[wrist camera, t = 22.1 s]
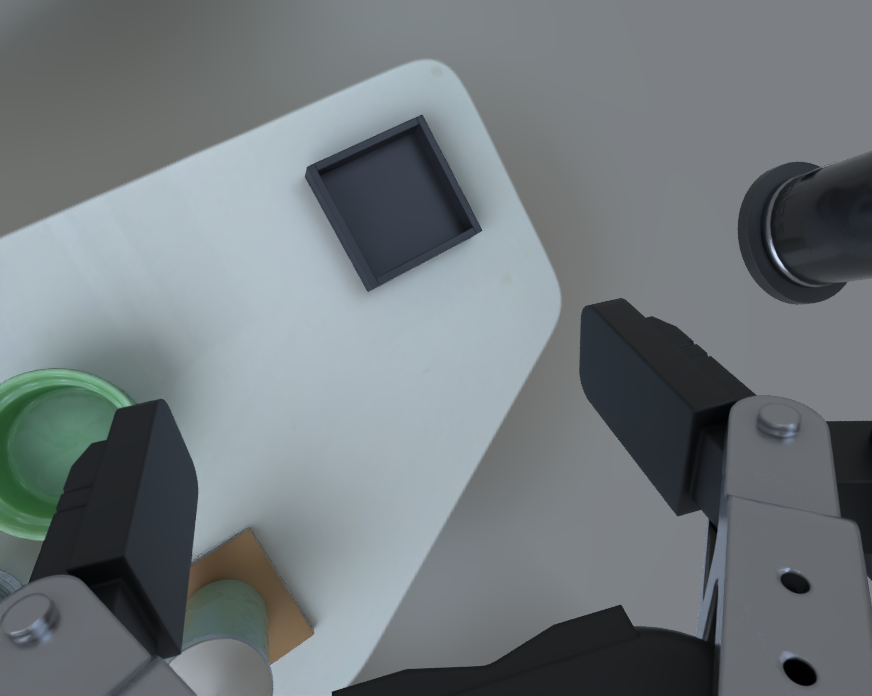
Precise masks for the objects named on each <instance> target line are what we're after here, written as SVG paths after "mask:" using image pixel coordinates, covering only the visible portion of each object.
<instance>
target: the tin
mask: <svg viewBox="0 0 872 696" xmlns="http://www.w3.org/2000/svg"><path fill="white" fill-rule="evenodd" d="M165 662H166V663H167V664H168V665H169V666H170V667H171V668H172V669H173V670H174V671H175V672H176V673H177V674H178V675H179V676H180V677H181V678H182V679H183V681H184V682H185V683H186V684H187V685H188V686H189V687H190V688H191V689H192V690H193V691H194V692H195V693H196V694H197V695H198V696H272V695H273V677H272V671H271V667H270V655H269V631H268V612H267V607H266V604H265V601H264V599H263V598H262V596H261V595H260V593H259V592H258V591H257V590H256V589H255V588H253V587H252V586H250V585H249V584H247V583H245V582H242V581H238V580H231V579H225V580H218V581H215V582H212V583H209V584H207V585H205V586H203V587H202V588H200V589H199V590H197V591H196V592H195V593H194V594H193V595H192V596H191V597H190V598H189V599H188V601H187V604H186V613H185V622H184V632H183V641H182V650H181V655H178V656H174V657H170V658H167V659H166V661H165Z"/></svg>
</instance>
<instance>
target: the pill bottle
mask: <svg viewBox="0 0 872 696" xmlns="http://www.w3.org/2000/svg"><path fill="white" fill-rule="evenodd" d="M21 587H22V586H21V584H20V583H19V582H18V581H17V580H16V579H15V578H14V577H13V576H11V575H10V574H8V573H6V572H3V571H0V602H1V601H2V600H3V599H4V598H6V597H7V596H8V595H10V594H11V593H13V592H14V591H16V590H17V589H19V588H21Z"/></svg>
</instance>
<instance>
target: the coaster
mask: <svg viewBox="0 0 872 696" xmlns="http://www.w3.org/2000/svg"><path fill="white" fill-rule="evenodd" d="M225 579H231V580H238V581H242V582H245V583H247V584H249V585H250V586H252V587H253V588H255V589H256V590H257V591H258V592H259V593H260V595H261V596H262V598H263V599H264V601H265V604H266V607H267V612H268V631H269V655H270V665H271V664H272V663H274V662H275V661H277V660H278V659H279V658H281V657H282V656H284V655H285V654H287V653H288V652H290V651H291V650H292V649H294V648H295V647H297V646H298V645H300V644H301V643H302V642H304V641H305V640H307V639H308V638H310V637H311V636H312V635H314V630H313V629H312V627H311V625H310V624H309V622H308V621H307V619H306V617H305V616H304V614H303V613H302V611H301V609H300V608H299V606H298V604H297V603H296V601H295V600H294V598H293V596H292V595H291V593H290V592H289V590H288V588H287V587H286V585H285V584H284V582H283V580H282V579H281V577H280V575H279V574H278V572H277V571H276V569H275V567H274V566H273V564H272V563H271V561H270V559H269V558H268V556H267V555H266V553H265V551H264V550H263V548H262V546H261V545H260V543H259V542H258V540H257V538H256V537H255V535H254V534H253V532H252V530H251V529H250V528H247V529H246V530H244V531H243V532H241V533H239V534H238V535H236V536H235V537H233V538H232V539H230V540H228V541H227V542H225V543H224V544H222V545H220V546H219V547H217V548H216V549H214V550H213V551H211V552H209V553H208V554H206V555H205V556H203V557H201V558H200V559H198V560H197V561H195V562H193V563H192V564H191V567H190V576H189V585H188V595H187V601H188V599H189V598H190V597H191V596H192V595H193V594H194V593H195V592H196V591H197V590H199V589H200V588H202V587H203V586H205V585H207V584H209V583H212V582H215V581H218V580H225ZM163 660H164V661H166V659H163Z"/></svg>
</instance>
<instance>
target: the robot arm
mask: <svg viewBox="0 0 872 696" xmlns="http://www.w3.org/2000/svg"><path fill="white" fill-rule="evenodd" d="M828 165H829V164H828ZM825 166H826V165H825ZM820 168H822V167H820ZM818 169H819V168H818ZM815 170H816V171H814V170H813V172H812V171H810V172H811V173H810V172H808V173H806V174H801V175H798V176H795V177H793V178H790V179H787V180H785V181H783V182H782V183H780V184H779V185H778V186H777V187H776V188H775V189H774V190H773V191H772V192H771V194H770V195H769V197H768V199H767V201H766V203H765V205H764V208H763V212H762V217H761V238H762V243H763V247H764V250H765V253H766V255H767V258H768V260H769V262H770V263H771V265H772V266H773V268H774V269H775V270H776V271H777V273H778V274H779V275H780V276H781V277H783V278H784V279H785V280H786V281H788V282H790V283H791V284H794V285H796V286H799V287H803V288H815V287H822V286H827V285H830V284H833V283H843V282H849V281H855V280H863V279H869V278H872V151H869V152H867V153H864V154H861V155H858V156H855V157H853V158H850V159H847V160H844V161H841V162H839V163H836V164H833V165H830V166H827V167H824V168H822V169H819V170H817V169H815ZM580 334H581V335H580V368H579V369H580V371H579V372H580V380H581V384H582V387H583V390H584V393H585V395H586V397H587V399H588V400H589V402H590V403H591V404H592V405H593V407H594V408H595V410H596V411H597V412H598V413H599V415H600V416H601V417H602V419H603V420H604V421H605V423H606V424H607V425H608V427H609V428H610V429H611V430H612V432H613V433H614V434H615V436H616V437H617V438H618V440H619V441H620V442H621V443H622V445H623V446H624V447H625V449H626V450H627V451H628V453H629V454H630V455H631V457H632V458H633V459H634V460H635V462H636V463H637V464H638V466H639V467H640V468H641V470H642V471H643V472H644V474H645V475H646V476H647V477H648V479H649V480H650V481H651V483H652V484H653V485H654V486H655V488H656V489H657V490H658V492H659V493H660V494H661V496H662V497H663V498H664V500H665V501H666V502H667V504H668V505H669V506H670V507H671V509H672V510H673V511H674V512H675V514H676V515H677V516H681V515H684V514H687V513H691V512H695V511H698V510H702V511H703V512H704V513H705V515H706V516H707V517H708V523H707V528H706V535H705V547H704V558H703V570H702V582H701V593H700V604H699V616H698V624H697V631H696V637H694V636H692V635H688V634H685V633H682V632H678V631H674V630H668V629H663V628H656V627H645V626H633V625H632V623H631V621H630V619H629V618H628V616H627V614H626V613H625V611H624V609H623V607H622V606H621V605H618V606H615V607H611V608H608V609H605V610H601V611H598V612H595V613H592V614H588V615H585V616H581V617H578V618H575V619H571V620H568V621H565V622H562V623H558V624H555V625H553V626H551V627H550V628H548V629H546V630H545V631H543V632H541V633H540V634H538V635H537V636H535V637H533V638H532V639H530V640H529V641H527V642H525V643H524V644H522V645H521V646H519V647H517V648H516V649H515V650H513V651H511V652H510V653H508V654H507V655H505V656H503V657H502V658H500V659H498V660H497V661H495V662H493V663H491V664H489V665H485V666H474V667H450V668H424V669H406V670H402V671H399V672H396V673H393V674H389V675H386V676H382V677H379V678H376V679H373V680H369V681H366V682H363V683H359V684H356V685H353V686H349V687H346V688H343V689H339V690H336V691H333V692H332V696H872V605H871V599H870V592H869V586H868V580H867V576H868V577H869V578H870V579H871V580H872V421H825V420H824V419H823V418H822V416H821V415H819V414H818V413H817V412H816V411H814V410H813V409H811V408H810V407H808V406H806V405H804V404H802V403H800V402H797V401H794V400H791V399H788V398H784V397H778V396H770V395H759V396H757V395H756V394H754V393H753V392H752V391H751V390H750V389H749V388H747V387H746V386H745V385H744V384H743V383H742V382H740V381H739V380H738V379H737V378H736V377H734V376H733V375H732V374H731V373H729V371H727V370H726V369H725V368H724V367H723V366H722V365H720V364H719V363H718V362H717V361H716V360H715V359H714V358H712V357H711V356H709V357H708V355H707V352H705V351H704V350H703V349H702V348H701V347H700V346H698V345H697V344H695V345H694V343H693V341H692V340H691V339H690V338H689V337H688V336H687V335H686V334H684V333H683V332H682V331H681V330H680V329H678V328H677V327H676V326H674V325H671V324H669V323H666V322H664V321H662V320H660V319H657V318H655V317H653V316H652V317H647V318H645V317H644V316H643V315H641V313H640V312H639V311H637V310H636V309H635V308H634V307H633V306H632V305H631V304H630V303H629V302H627V301H626V300H625V299H622V298H620V299H615V300H610V301H606V302H601V303H597V304H592V305H588V306H585V307H584V308H583V310H582V314H581V333H580ZM63 491H64V494H61V496H60V499H59V501H58V504H57V507H56V511H57V513H55V514H54V515H53V518H52V520H51V523H50V526H49V529H48V531H47V534H46V537H45V539H44V542H43V545H42V548H41V550H40V553H39V556H38V558H37V561H36V564H35V567H34V569H33V572H32V575H31V578H30V580H29V583H28V584H26V585H25V586H23V587H21V588H19V589H17V590H16V591H14V592H13V593H11V594H10V595H8V596H7V597H6V598H4V599H3V600H2V601H1V602H0V696H198V695H197V694H196V693H195V692H194V691H193V690H192V689H191V688H190V687H189V686H188V685H187V684H186V683H185V682H184V681H183V679H182V678H181V677H180V676H179V675H178V674H177V673H176V672H175V671H174V670H173V669H172V668H171V667H170V666H169V665H168V664H167V663H166V662H165V661H164V660H163V659H167V658H170V657H174V656H178V655H181V650H182V641H183V632H184V622H185V613H186V604H187V595H188V585H189V576H190V567H191V557H192V548H193V539H194V530H195V520H196V511H197V502H198V481H197V475H196V471H195V467H194V464H193V461H192V459H191V457H190V454H189V452H188V450H187V447H186V445H185V443H184V440H183V438H182V436H181V433H180V431H179V429H178V426H177V424H176V422H175V420H174V417H173V415H172V413H171V410H170V408H169V406H168V404H167V403H166V402H165V401H164V400H163V399H158V400H154V401H149V402H145V403H140V404H136V405H131V406H127V407H122V408H118V409H117V410H116V412H115V414H114V417H113V421H112V424H111V427H110V430H109V433H108V437H107V440H103V441H99V442H94V443H91V444H90V445H89V447H88V448H87V449H86V450H85V451H84V452H83V453H82V455H81V456H80V457H79V458H78V459H77V460H76V461H75V463H74V464H73V465H72V466H71V469H70V471H69V474H68V477H67V480H66V482H65V485H64V488H63Z"/></svg>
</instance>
